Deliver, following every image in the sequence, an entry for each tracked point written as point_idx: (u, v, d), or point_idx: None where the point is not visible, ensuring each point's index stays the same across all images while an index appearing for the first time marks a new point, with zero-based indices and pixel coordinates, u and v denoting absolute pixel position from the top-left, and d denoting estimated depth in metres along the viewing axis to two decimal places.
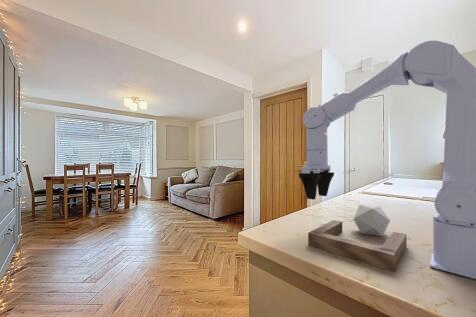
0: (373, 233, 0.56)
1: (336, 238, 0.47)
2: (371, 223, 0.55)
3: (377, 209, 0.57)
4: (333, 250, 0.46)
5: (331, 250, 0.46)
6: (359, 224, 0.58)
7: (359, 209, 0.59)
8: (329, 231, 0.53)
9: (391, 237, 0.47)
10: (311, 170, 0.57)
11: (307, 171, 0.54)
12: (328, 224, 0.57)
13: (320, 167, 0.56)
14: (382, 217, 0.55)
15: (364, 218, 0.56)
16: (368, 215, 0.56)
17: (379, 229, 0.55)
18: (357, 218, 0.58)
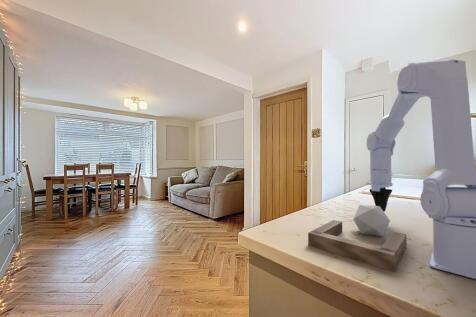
0: (373, 233, 0.56)
1: (336, 238, 0.47)
2: (371, 223, 0.55)
3: (377, 209, 0.57)
4: (333, 250, 0.46)
5: (331, 250, 0.46)
6: (359, 224, 0.58)
7: (359, 209, 0.59)
8: (329, 231, 0.53)
9: (391, 237, 0.47)
10: None
11: (378, 189, 0.62)
12: (328, 224, 0.57)
13: (387, 185, 0.64)
14: (382, 217, 0.55)
15: (364, 218, 0.56)
16: (368, 215, 0.56)
17: (379, 229, 0.55)
18: (357, 218, 0.58)
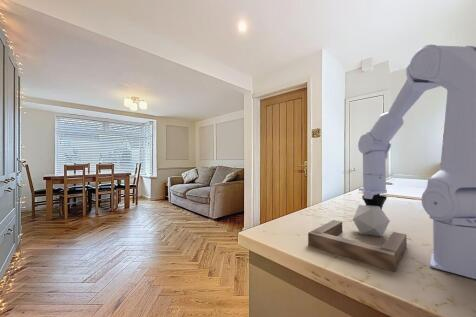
0: (373, 233, 0.56)
1: (336, 238, 0.47)
2: (371, 223, 0.55)
3: (376, 209, 0.57)
4: (333, 250, 0.46)
5: (331, 250, 0.46)
6: (359, 224, 0.57)
7: (359, 209, 0.59)
8: (329, 231, 0.53)
9: (391, 237, 0.47)
10: None
11: (370, 197, 0.56)
12: (328, 224, 0.57)
13: (381, 192, 0.58)
14: (382, 217, 0.55)
15: (363, 219, 0.56)
16: (368, 215, 0.56)
17: (379, 229, 0.55)
18: (357, 218, 0.57)
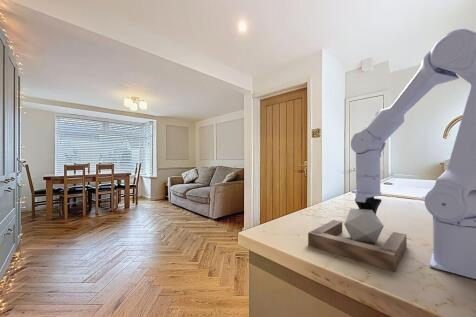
0: (365, 240, 0.51)
1: (336, 238, 0.47)
2: (363, 229, 0.50)
3: (369, 213, 0.52)
4: (333, 250, 0.46)
5: (331, 250, 0.46)
6: (350, 230, 0.53)
7: (350, 213, 0.54)
8: (329, 231, 0.53)
9: (391, 237, 0.47)
10: (365, 198, 0.54)
11: (363, 200, 0.52)
12: (328, 224, 0.57)
13: (374, 195, 0.54)
14: (375, 223, 0.50)
15: (355, 224, 0.51)
16: (360, 220, 0.51)
17: (372, 235, 0.50)
18: (348, 223, 0.53)
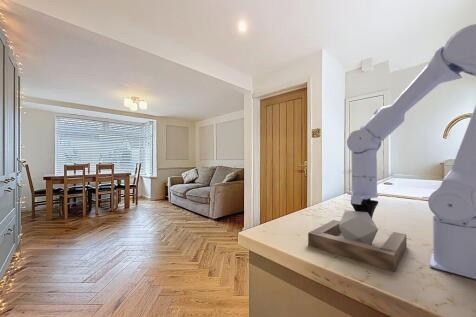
0: None
1: (336, 238, 0.47)
2: (356, 232, 0.48)
3: (364, 216, 0.50)
4: (333, 250, 0.46)
5: (331, 250, 0.46)
6: (343, 233, 0.51)
7: (344, 215, 0.52)
8: (329, 231, 0.53)
9: (391, 237, 0.47)
10: (360, 199, 0.52)
11: (358, 202, 0.49)
12: (328, 224, 0.57)
13: (371, 196, 0.51)
14: (369, 226, 0.48)
15: (348, 227, 0.49)
16: (353, 223, 0.49)
17: (365, 239, 0.48)
18: (341, 226, 0.51)
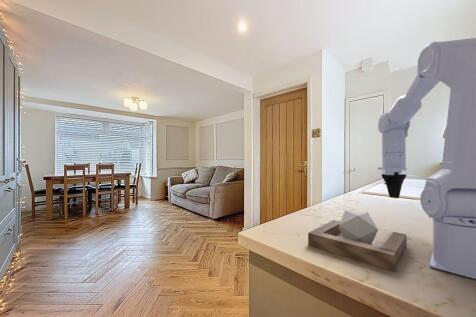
0: None
1: (336, 238, 0.47)
2: (356, 232, 0.48)
3: (363, 216, 0.50)
4: (333, 250, 0.46)
5: (331, 250, 0.46)
6: (343, 233, 0.51)
7: (344, 216, 0.52)
8: (329, 231, 0.53)
9: (391, 237, 0.47)
10: None
11: (392, 173, 0.57)
12: (328, 224, 0.57)
13: (401, 169, 0.59)
14: (369, 226, 0.48)
15: (348, 227, 0.49)
16: (353, 223, 0.49)
17: (365, 239, 0.48)
18: (341, 226, 0.51)
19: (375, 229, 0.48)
